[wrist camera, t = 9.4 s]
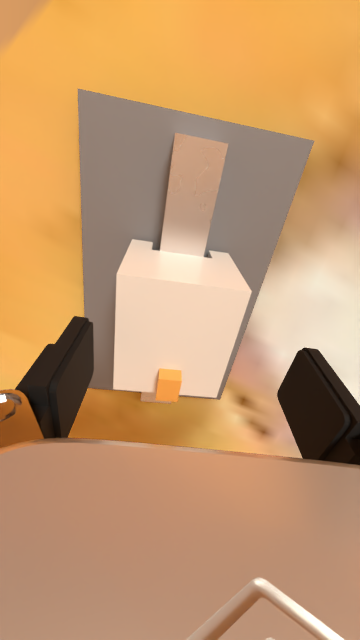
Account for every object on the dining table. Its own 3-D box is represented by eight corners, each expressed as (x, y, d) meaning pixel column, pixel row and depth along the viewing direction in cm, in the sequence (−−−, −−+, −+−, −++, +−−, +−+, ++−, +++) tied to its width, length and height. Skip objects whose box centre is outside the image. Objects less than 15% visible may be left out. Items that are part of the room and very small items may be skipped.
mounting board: (301, 142, 15) (314, 140, 14) (217, 387, 25) (219, 399, 24) (86, 95, 13) (77, 88, 12) (91, 375, 24) (86, 387, 23)
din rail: (221, 145, 14) (228, 143, 12) (170, 387, 23) (171, 403, 21) (174, 135, 13) (175, 132, 12) (142, 384, 23) (140, 401, 21)
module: (228, 253, 16) (256, 299, 11) (205, 341, 20) (218, 408, 15) (132, 239, 16) (113, 281, 10) (126, 333, 19) (110, 400, 14)
